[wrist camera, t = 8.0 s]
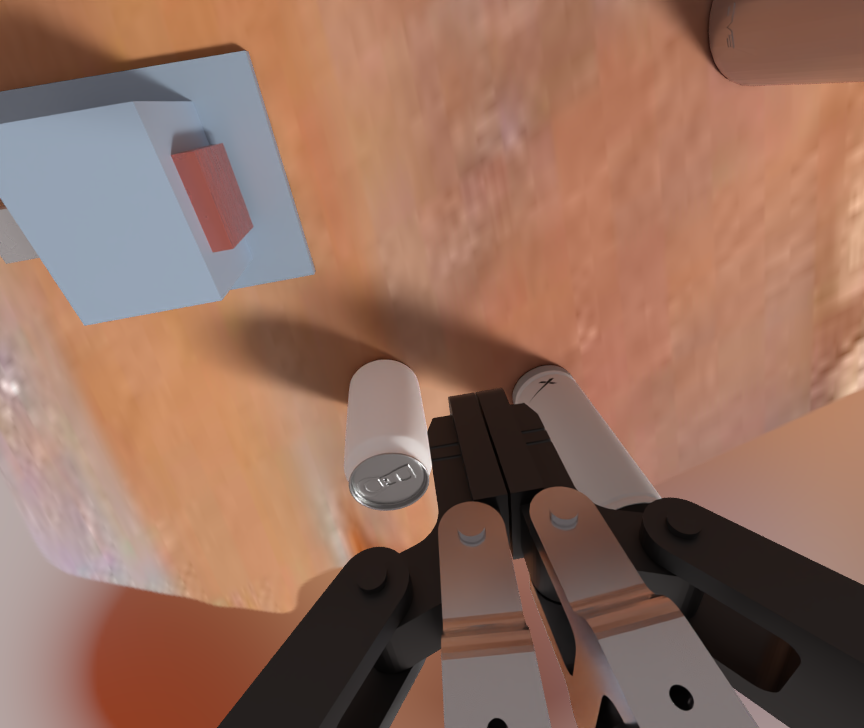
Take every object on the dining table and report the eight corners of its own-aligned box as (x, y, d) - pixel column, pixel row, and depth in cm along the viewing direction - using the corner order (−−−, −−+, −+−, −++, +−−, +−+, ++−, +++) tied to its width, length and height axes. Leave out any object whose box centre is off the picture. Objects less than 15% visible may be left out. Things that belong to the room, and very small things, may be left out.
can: (336, 373, 38) (324, 471, 28) (401, 346, 38) (413, 435, 28) (369, 423, 42) (368, 525, 32) (429, 398, 41) (448, 495, 31)
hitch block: (248, 51, 26) (200, 32, 19) (315, 270, 33) (300, 317, 26) (-19, 96, 25) (-174, 94, 18) (110, 308, 33) (37, 367, 26)
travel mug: (523, 357, 40) (635, 544, 23) (583, 370, 42) (729, 552, 25) (499, 409, 43) (583, 608, 26) (556, 419, 45) (670, 612, 28)
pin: (222, 143, 26) (193, 151, 22) (253, 226, 29) (233, 248, 25) (8, 180, 26) (-65, 196, 22) (60, 261, 29) (5, 290, 24)
